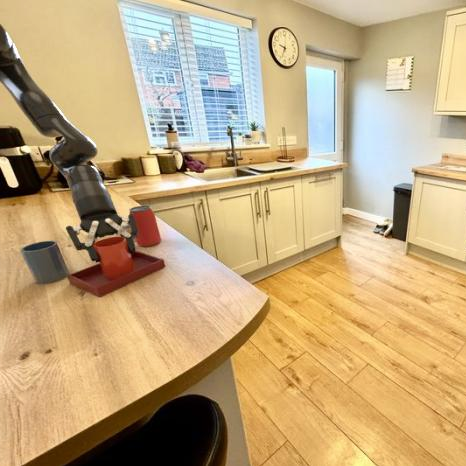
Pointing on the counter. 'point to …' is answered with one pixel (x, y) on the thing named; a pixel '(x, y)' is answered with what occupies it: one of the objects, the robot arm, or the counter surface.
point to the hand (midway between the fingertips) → (115, 256)
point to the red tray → (100, 285)
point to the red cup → (114, 257)
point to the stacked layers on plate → (127, 229)
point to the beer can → (146, 226)
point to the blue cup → (45, 261)
